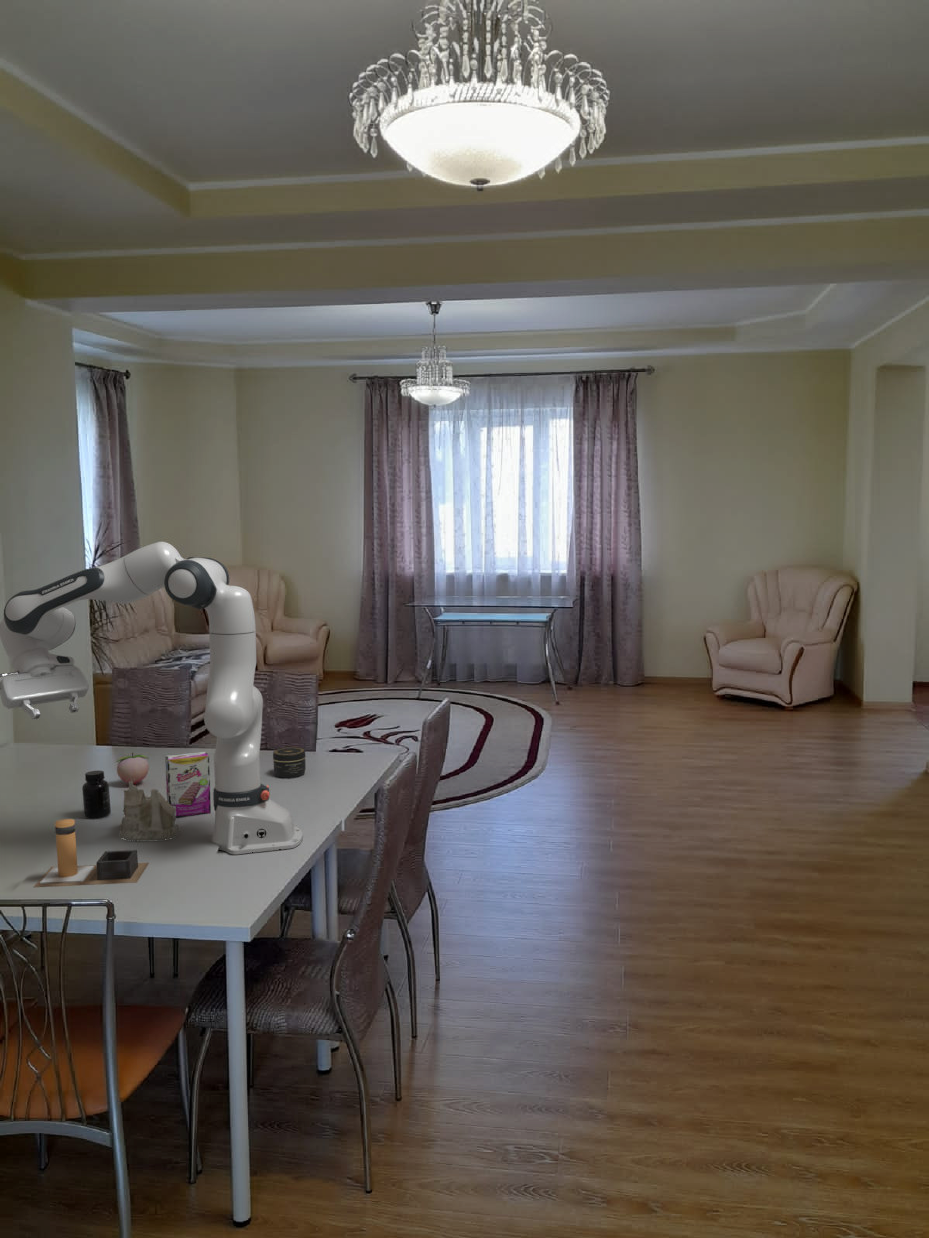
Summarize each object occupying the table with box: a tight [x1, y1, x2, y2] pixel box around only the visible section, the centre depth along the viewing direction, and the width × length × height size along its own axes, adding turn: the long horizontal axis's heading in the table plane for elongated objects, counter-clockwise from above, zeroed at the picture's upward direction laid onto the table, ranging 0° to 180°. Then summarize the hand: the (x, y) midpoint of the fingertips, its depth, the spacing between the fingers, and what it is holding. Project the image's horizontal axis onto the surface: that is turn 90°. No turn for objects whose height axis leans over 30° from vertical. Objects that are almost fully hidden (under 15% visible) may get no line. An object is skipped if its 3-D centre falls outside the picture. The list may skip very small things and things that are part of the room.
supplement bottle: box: [81, 770, 112, 820], centre depth 266 cm, size 7×7×12 cm
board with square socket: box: [33, 849, 150, 888], centre depth 219 cm, size 22×12×6 cm, turn 95°
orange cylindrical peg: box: [54, 818, 78, 877], centre depth 218 cm, size 4×4×12 cm
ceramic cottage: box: [119, 781, 181, 842], centre depth 252 cm, size 16×16×15 cm
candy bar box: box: [164, 751, 212, 818], centre depth 266 cm, size 11×5×16 cm, turn 115°
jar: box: [272, 746, 307, 780], centre depth 304 cm, size 10×10×8 cm
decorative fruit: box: [116, 752, 150, 785], centre depth 295 cm, size 9×8×10 cm
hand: (56, 714), depth 233 cm, fingers open, 8 cm apart
